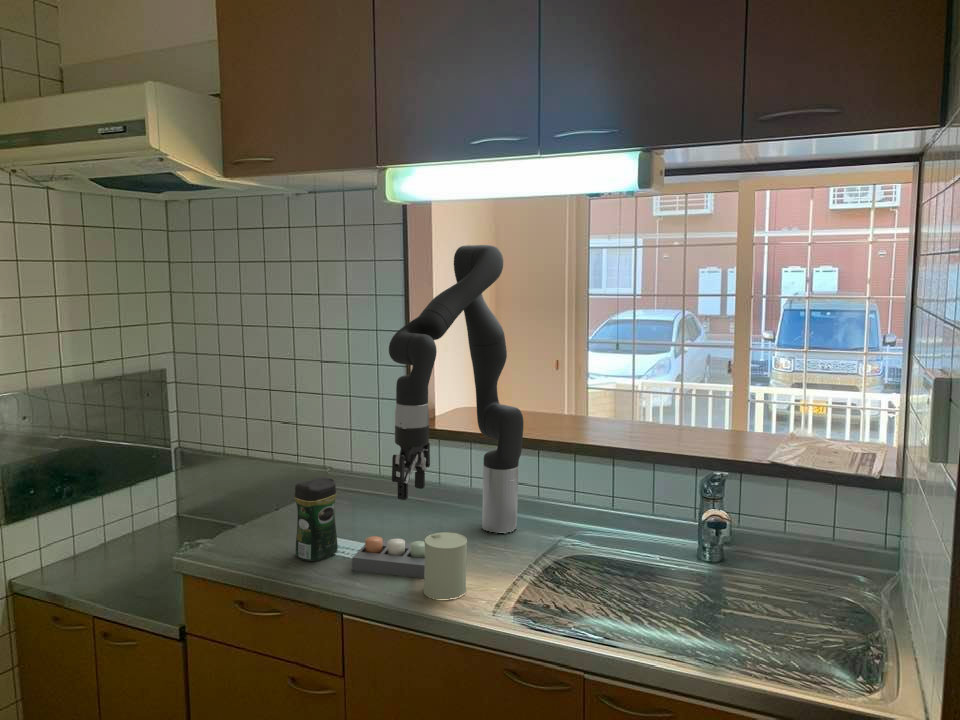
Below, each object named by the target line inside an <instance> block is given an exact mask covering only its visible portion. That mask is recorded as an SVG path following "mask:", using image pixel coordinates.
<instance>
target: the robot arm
mask: <svg viewBox="0 0 960 720" xmlns="http://www.w3.org/2000/svg"><path fill="white" fill-rule="evenodd" d="M503 269H504V256H503V253H502V252H501V250H500V249H499V248H498V247H497V246H494V245H491V244H489V245H488V244H474V245H473V244H471V245H470V244H469V245H468V244H467V245H462V246H459V247H458V248H457V249H456V250H455V252H454V256H453V271H454V276H455V280H456V283H454V284H453V285H451V286H450V287H448V288H447V289H445V290H443V291H442V292H440V293H439V294H437V295H436V296H435V297H434V298H433V299H432V300H431V301H430V302H429V303H428V304H427V305H426V306H425V308H424V309H423V310H422V311H421V313H420V314H419V315H418V316H417V317H415V318H414V319H412V320H410V322H408V323H407V324H405V325H403V326H402V327H401V328H400V329H399V330H398V331H396V332H395V334H394V335H393V336H391V337H392V338H391V339H390V341H389V346H388V355H389V356H390V359H391V360H392V361H393V362H395V363H398V364H400V365H407V366H412V367H411V368H412V369H411V371H410V372H409V373H410V374H406V375H401V376H399V377H398V378H397V380H396V389H395V393H396V395H395V401H396V402H395V411H394V443H395V444H396V445H397V446H399V447H400V452H399V454H393V455H392V461H391V462H392V463H391V464H392V465H391V482H393V483H397V499H398V500H401V501H406V500H408V499H409V483H408V482H409V479H410V476H411V475H412V474H413V473H414V487H415V488H416V489H418V490H419V489H420V490H422V489H424V488H425V486H426V479H425V478H426V472H427V469H428V468H430V466H431V455H430V452H431V444H430V441H429V439H430V410H429V384H430V380H431V376H432V372H433V368H434V365H435V363H436V358H437V344H436V343H435V341H437V340H440V339H441V338H442V337H443V336H444V335H445V334H446V333H447V332H448V330H449V328H450V327H452V325H453V324H454V322H455V321H456V320H457V318H458V317H459V316H460V315H461V313H462V312H463V313H464V314H463V315H464V319H465V324H466V332H467V339H468V347H469V352H470V357H471V358H470V359H471V364H472V369H473V371H472V372H473V379H474V386H475V387H474V388H475V399H476V401H475V402H476V418H477V424H478V425H477V426H478V428H479V431H480V433H481V434H482V435H483V436H484V437H486V438H490V439H493V440H496V441H497V449H495V450H490V451H487V452H486V453H484V455H483V467H482V468H483V472H482V513H481V514H482V515H481V519H482V520H481V523H482V524H481V528H482V529H483V531H485V530H486V532H487V531H490V532H489V533H491V532H497V533H499V532H508V531H512V530H514V529H516V530H517V528H518V527H517V526H518V525H517V523H518V499H519V498H518V495H519V489H518V488H519V465H520V464H519V463H520V461H519V460H520V457H521V454H522V450H523V449H522V447H523V436H524V416H523V413H522V411H521V409H519V407H516V406H511V405H506V404H501V403H500V401H499V396H498V381H499V378H500V376H501V374H502V371H503V369H504V367H505V365H506V362H507V357H508V353H507V351H508V350H507V344H506V337H505V331H504V329H503V327H502V325H501V322H499V319H498V318H497V317H496V316H495V314H494V313H493V311H492V310H491V308H490V307H489V306H488V304H487V303H486V301H485V298H484V295H483V293H484V292H485V291H486V290H487V289H488V288H490V287H491V286H492V285H493V284H494V283H495V282H496V281H497V280H498V279H499V278H500V276H501V274H502V273H503ZM414 471H415V472H414ZM516 527H517V528H516ZM497 533H496V534H497Z"/></svg>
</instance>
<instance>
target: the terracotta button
mask: <svg viewBox="0 0 960 720" xmlns="http://www.w3.org/2000/svg"><path fill="white" fill-rule="evenodd" d="M383 540H384V539H383V537H381V536H369V537H366V538H365V540H364V541H365V542H364V543H365V544H364V545H365V552H369V553H378V554H380V553H381V552H382V551H383Z"/></svg>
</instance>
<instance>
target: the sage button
mask: <svg viewBox="0 0 960 720" xmlns="http://www.w3.org/2000/svg"><path fill="white" fill-rule="evenodd" d="M410 557H415V558H424V559H425V542H424V540H416V541H412V542H411V544H410Z"/></svg>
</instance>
